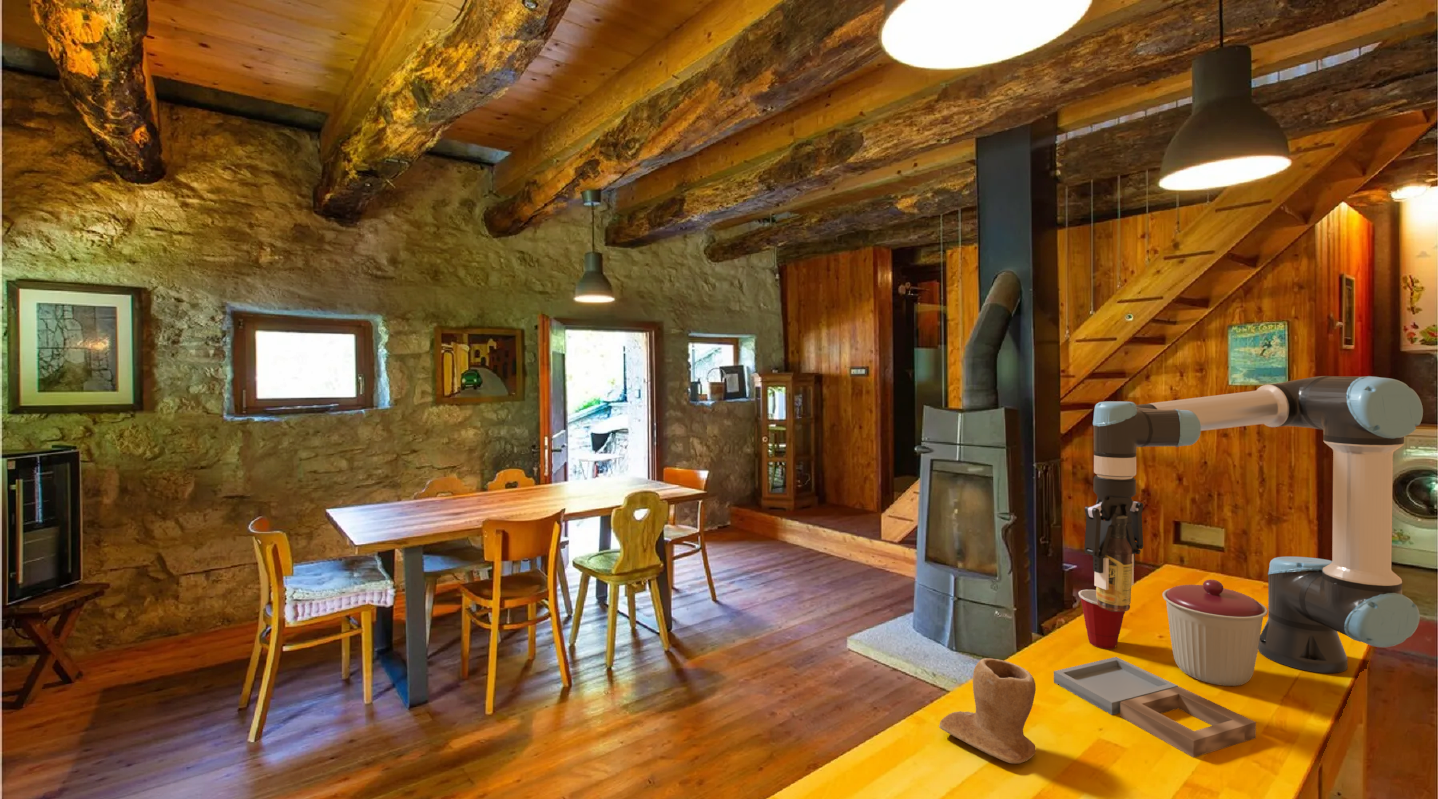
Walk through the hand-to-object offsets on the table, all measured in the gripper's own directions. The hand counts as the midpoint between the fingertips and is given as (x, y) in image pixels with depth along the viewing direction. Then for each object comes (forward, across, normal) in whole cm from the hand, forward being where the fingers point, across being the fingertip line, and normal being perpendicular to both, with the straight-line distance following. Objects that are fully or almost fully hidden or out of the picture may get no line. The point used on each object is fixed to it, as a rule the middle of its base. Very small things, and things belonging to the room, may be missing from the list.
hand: (1113, 585), depth 134 cm
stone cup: (+23, +37, +6) cm, 44 cm away
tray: (+23, 0, 0) cm, 23 cm away
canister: (+23, -25, +3) cm, 34 cm away
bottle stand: (+23, 0, +15) cm, 27 cm away
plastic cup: (+23, -17, -17) cm, 33 cm away
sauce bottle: (+5, 0, 0) cm, 5 cm away
